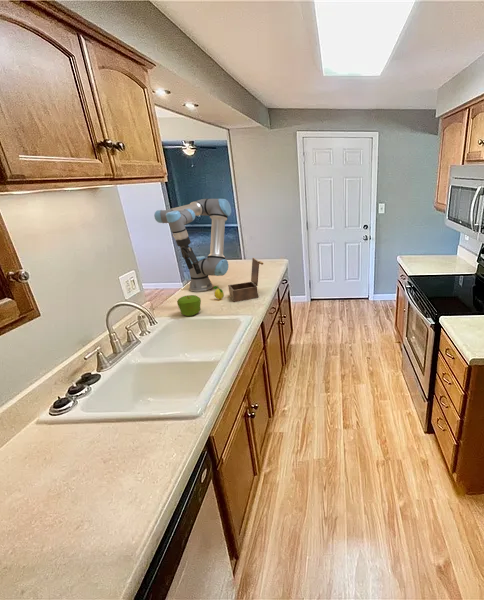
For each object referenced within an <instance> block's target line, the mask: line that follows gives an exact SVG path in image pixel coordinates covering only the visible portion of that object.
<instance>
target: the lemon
mask: <svg viewBox="0 0 484 600" xmlns="http://www.w3.org/2000/svg"><path fill="white" fill-rule="evenodd" d="M212 289H213V290H214V297H215V299H218V300H220V301H221V299H223V298H224V296H225V294H224V290H222V289H221V288H220V287H219V286H218V285H214V286H213V288H212Z"/></svg>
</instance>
